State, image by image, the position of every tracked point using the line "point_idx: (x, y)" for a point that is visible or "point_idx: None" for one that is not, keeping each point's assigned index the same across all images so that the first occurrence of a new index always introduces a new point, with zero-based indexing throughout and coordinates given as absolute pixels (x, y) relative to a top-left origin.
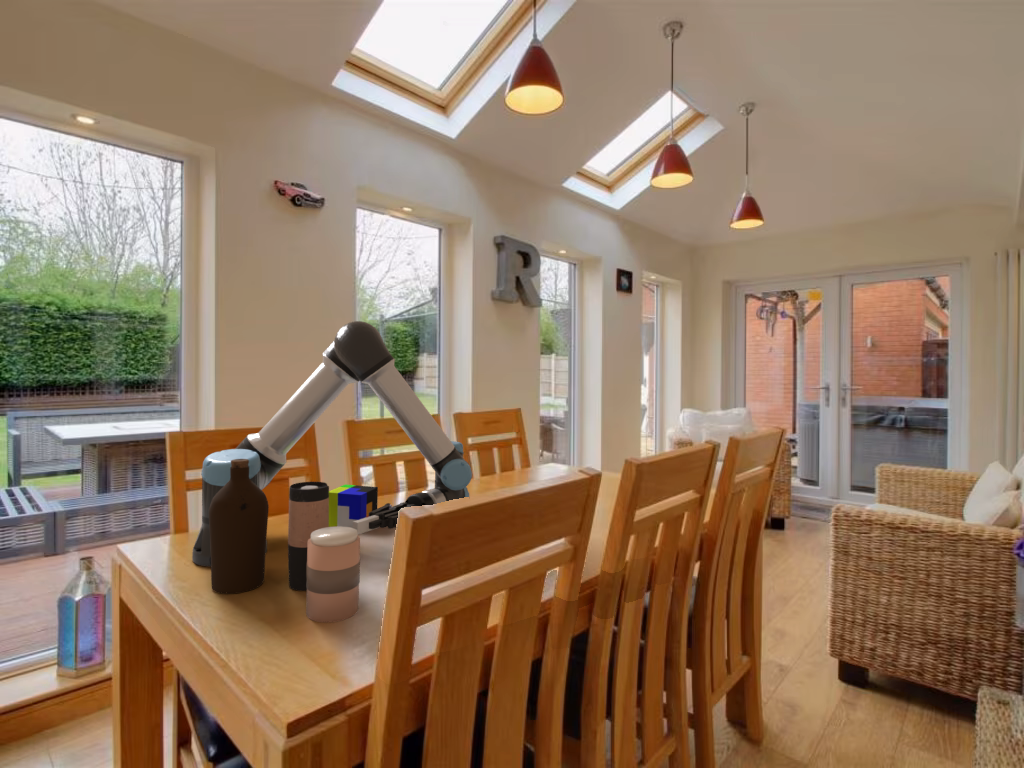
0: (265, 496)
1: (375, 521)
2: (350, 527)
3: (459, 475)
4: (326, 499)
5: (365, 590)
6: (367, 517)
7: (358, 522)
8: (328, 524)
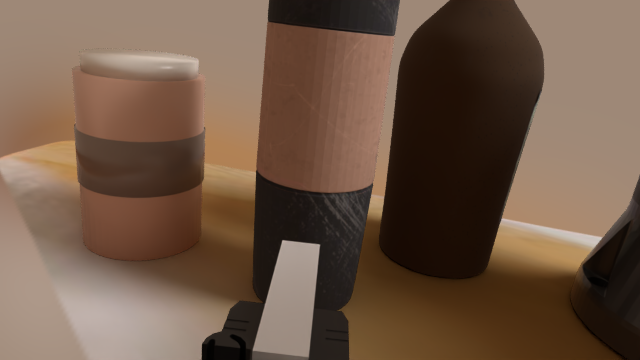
0: (443, 41)
1: (238, 325)
2: (120, 60)
3: None
4: (268, 24)
5: (110, 302)
6: (307, 304)
7: (282, 243)
8: (271, 125)
